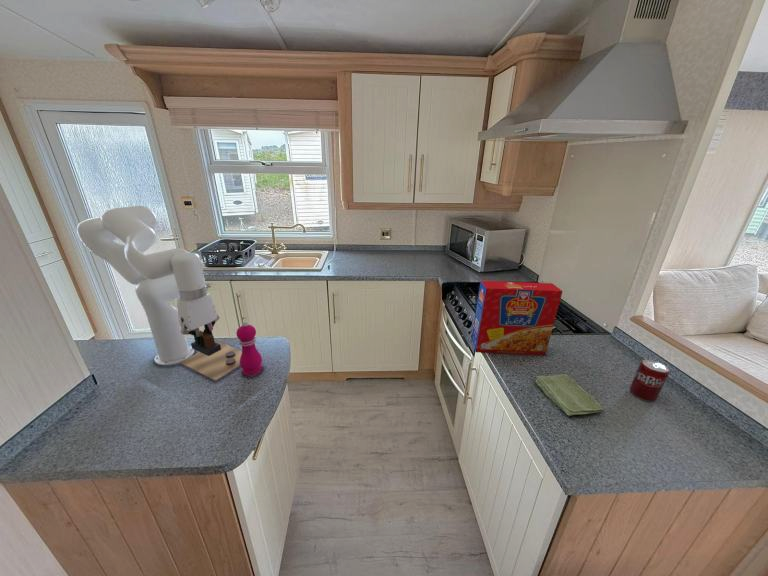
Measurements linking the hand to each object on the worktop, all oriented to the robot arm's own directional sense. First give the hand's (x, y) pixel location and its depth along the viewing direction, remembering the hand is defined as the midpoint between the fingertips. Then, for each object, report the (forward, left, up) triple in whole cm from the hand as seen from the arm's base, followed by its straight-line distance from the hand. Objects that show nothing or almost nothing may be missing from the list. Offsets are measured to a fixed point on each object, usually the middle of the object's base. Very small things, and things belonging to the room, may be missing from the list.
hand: (205, 342), depth 102 cm
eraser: (0, 0, -3) cm, 3 cm away
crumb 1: (-2, +9, -12) cm, 15 cm away
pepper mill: (+12, +7, -13) cm, 19 cm away
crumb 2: (+2, +6, -12) cm, 13 cm away
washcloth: (+111, +48, -13) cm, 121 cm away
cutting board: (-4, +5, -12) cm, 14 cm away
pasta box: (+90, +69, -13) cm, 114 cm away
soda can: (+134, +62, -13) cm, 148 cm away
